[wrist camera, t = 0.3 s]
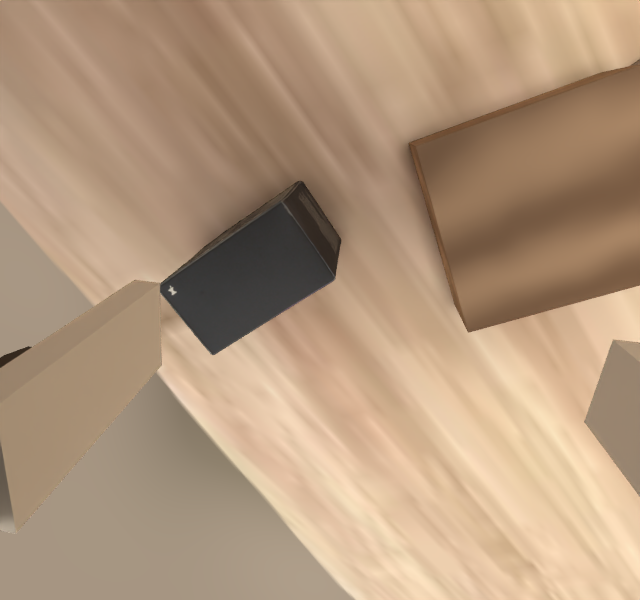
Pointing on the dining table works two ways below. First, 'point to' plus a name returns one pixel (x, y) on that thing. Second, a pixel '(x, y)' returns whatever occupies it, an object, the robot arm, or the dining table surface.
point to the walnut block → (538, 199)
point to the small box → (255, 269)
